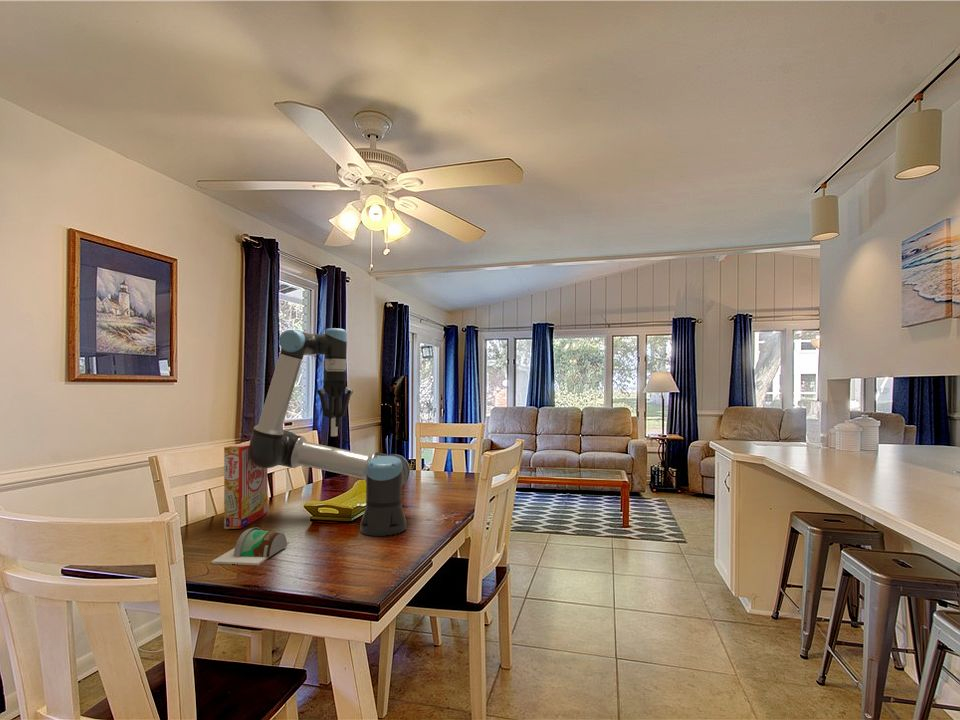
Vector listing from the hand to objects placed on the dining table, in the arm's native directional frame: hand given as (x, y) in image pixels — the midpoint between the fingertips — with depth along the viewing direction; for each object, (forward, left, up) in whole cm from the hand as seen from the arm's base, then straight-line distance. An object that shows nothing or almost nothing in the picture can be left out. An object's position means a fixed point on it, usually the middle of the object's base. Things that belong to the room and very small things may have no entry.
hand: (334, 435), depth 181 cm
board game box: (+28, +7, -30) cm, 41 cm away
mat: (+9, +38, -29) cm, 49 cm away
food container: (+1, +38, -26) cm, 46 cm away
